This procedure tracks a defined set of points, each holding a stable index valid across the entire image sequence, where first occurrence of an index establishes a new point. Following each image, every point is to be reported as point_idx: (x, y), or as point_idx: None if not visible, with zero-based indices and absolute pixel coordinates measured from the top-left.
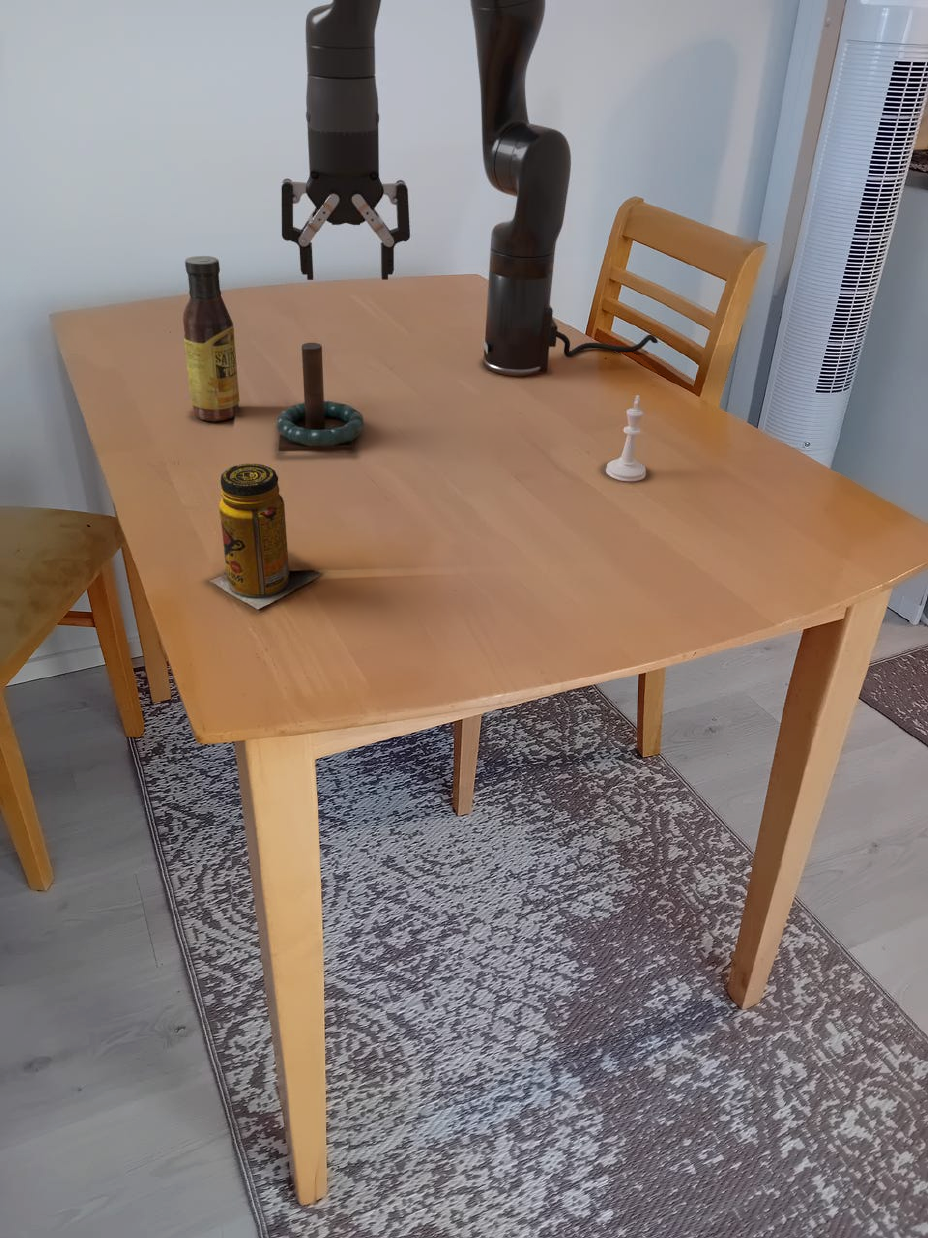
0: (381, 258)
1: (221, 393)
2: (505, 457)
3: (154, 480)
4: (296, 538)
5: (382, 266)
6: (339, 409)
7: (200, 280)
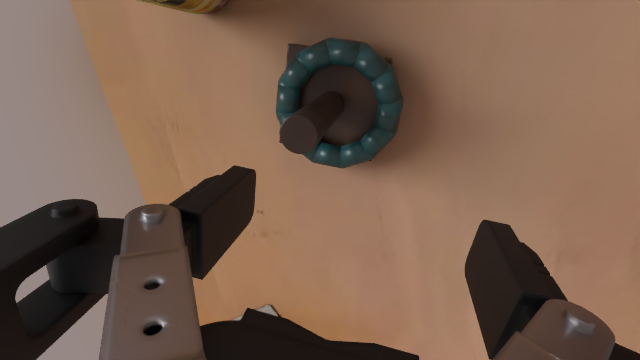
0: (488, 288)
1: (193, 9)
2: (580, 205)
3: (160, 160)
4: (287, 292)
5: (474, 299)
6: (370, 79)
7: None
